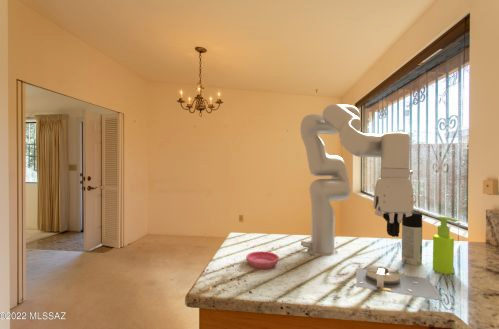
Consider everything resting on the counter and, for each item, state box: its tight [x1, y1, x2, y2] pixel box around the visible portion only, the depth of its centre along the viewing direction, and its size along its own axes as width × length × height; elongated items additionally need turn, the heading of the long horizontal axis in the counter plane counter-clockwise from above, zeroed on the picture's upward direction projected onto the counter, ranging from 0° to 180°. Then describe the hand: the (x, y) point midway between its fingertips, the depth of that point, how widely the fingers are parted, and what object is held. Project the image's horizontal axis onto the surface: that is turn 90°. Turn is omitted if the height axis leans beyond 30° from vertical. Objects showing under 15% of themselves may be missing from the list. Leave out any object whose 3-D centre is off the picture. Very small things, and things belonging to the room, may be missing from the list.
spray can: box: [401, 211, 423, 266], centre depth 104 cm, size 7×7×20 cm
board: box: [355, 268, 443, 301], centre depth 86 cm, size 22×17×1 cm
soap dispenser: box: [432, 216, 459, 275], centre depth 95 cm, size 6×7×20 cm
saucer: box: [245, 250, 280, 270], centre depth 103 cm, size 12×12×3 cm
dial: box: [365, 265, 401, 288], centre depth 87 cm, size 14×10×4 cm
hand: (392, 235), depth 81 cm, fingers closed
